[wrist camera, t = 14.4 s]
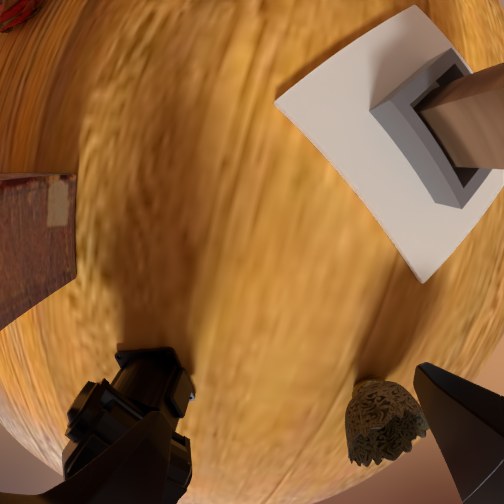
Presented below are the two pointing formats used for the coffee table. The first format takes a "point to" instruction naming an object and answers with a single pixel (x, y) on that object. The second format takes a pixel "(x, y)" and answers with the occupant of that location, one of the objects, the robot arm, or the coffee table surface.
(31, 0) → the dragon fruit
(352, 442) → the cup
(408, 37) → the plate
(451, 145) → the walnut post
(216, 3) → the coffee table surface
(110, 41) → the coffee table surface
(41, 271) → the book
